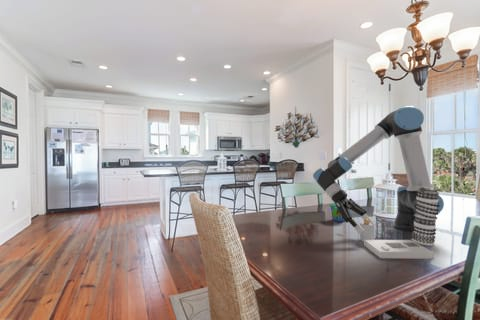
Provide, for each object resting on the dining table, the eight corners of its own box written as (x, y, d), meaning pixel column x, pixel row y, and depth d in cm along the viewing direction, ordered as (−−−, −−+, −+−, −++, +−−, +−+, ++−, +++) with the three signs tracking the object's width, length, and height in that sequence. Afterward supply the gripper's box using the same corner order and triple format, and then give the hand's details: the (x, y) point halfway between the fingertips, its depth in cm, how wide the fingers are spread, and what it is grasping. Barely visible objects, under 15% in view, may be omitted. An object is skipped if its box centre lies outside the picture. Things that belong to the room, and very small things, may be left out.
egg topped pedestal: (369, 239, 116) (369, 218, 116) (374, 242, 112) (374, 220, 112) (359, 239, 116) (359, 218, 116) (364, 242, 112) (364, 220, 112)
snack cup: (336, 216, 160) (336, 201, 160) (352, 219, 153) (352, 203, 153) (325, 221, 149) (324, 205, 149) (342, 224, 142) (342, 207, 142)
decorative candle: (439, 247, 105) (445, 190, 103) (414, 243, 108) (419, 188, 106) (431, 239, 113) (436, 187, 111) (407, 236, 117) (412, 185, 115)
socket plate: (410, 245, 107) (410, 238, 107) (433, 258, 93) (433, 250, 93) (364, 245, 108) (363, 238, 108) (380, 258, 94) (380, 250, 94)
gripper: (342, 195, 135) (371, 228, 124) (319, 201, 118) (350, 239, 107) (352, 186, 131) (383, 219, 120) (329, 191, 114) (362, 230, 103)
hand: (367, 229), depth 113 cm, fingers open, 13 cm apart
